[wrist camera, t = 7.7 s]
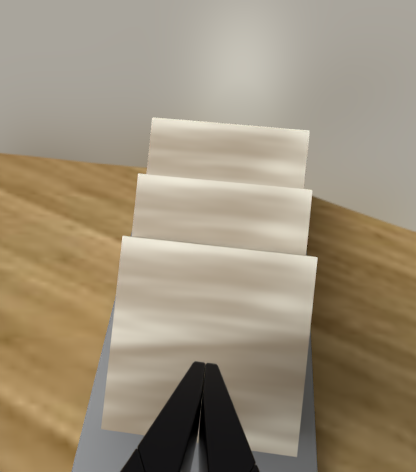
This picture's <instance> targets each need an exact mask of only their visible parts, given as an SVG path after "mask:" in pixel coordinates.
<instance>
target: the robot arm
mask: <svg viewBox="0 0 416 472" xmlns="http://www.w3.org/2000/svg"><path fill="white" fill-rule="evenodd" d="M204 374H205V375H204ZM202 393H203V394H202ZM201 403H202V404H201ZM200 413H201V414H200ZM199 423H200V424H199ZM198 431H199V441H198V460H199V472H260V471H259V468H258V466H257V465H256V461H255V459H254V456H253V453H252V451H251V448H250V446H249V443H248V441H247V438H246V436H245V433H244V430H243V428H242V425H241V423H240V420H239V418H238V415H237V412H236V410H235V407H234V405H233V402H232V400H231V397H230V395H229V392H228V389H227V387H226V384H225V382H224V379H223V377H222V374H221V372H220V369H219V366H218V365H217V364H215V363H206V365H205V363H204V362H199V361H194V362H193V363H192V365H191V366H190V368H189V369H188V371H187V372H186V374H185V375H184V377H183V378H182V380H181V381H180V383H179V384H178V386H177V387H176V389H175V390H174V392H173V393H172V395H171V396H170V398H169V399H168V401H167V402H166V404H165V405H164V407H163V408H162V410H161V411H160V413H159V414H158V416H157V417H156V419H155V420H154V422H153V423H152V425H151V426H150V428H149V429H148V431H147V432H146V434H145V435H144V437H143V438H142V440H141V441H140V443H139V444H138V446H137V448H136V449H135V450H134V452H133V453H132V455H131V456H130V458H129V459H128V461H127V462H126V464H125V465H124V466H123V468H122V469H121V471H120V472H190V471H191V467H192V462H193V457H194V452H195V448H196V443H197V437H198Z"/></svg>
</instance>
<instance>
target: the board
mask: <svg viewBox="0 0 416 472" xmlns="http://www.w3.org/2000/svg"><path fill="white" fill-rule="evenodd" d="M131 236H132V233H131ZM306 255H307V250H306ZM115 300H116V297H115ZM114 309H115V301H114V305H113V309H112V313H111V317H110V321H109V325H108V329H107V333H106V337H105V341H104V345H103V349H102V353H101V357H100V361H99V365H98V369H97V373H96V377H95V381H94V384H93V388H92V392H91V396H90V400H89V404H88V408H87V412H86V416H85V420H84V424H83V428H82V432H81V436H80V440H79V444H78V448H77V452H76V456H75V460H74V464H73V468H72V472H120V471H121V469H122V468H123V466H124V465H125V464H126V462H127V461H128V459H129V458H130V456H131V455H132V453H133V452H134V450H135V449H136V448H137V446H138V444H139V443H140V441H141V440H142V438H143V437H144V435H139V434H132V433H125V432H118V431H111V430H104V429H101V425H102V416H103V407H104V398H105V389H106V380H107V372H108V363H109V354H110V345H111V336H112V327H113V318H114ZM252 453H253V456H254V459H255V461H256V465H257V466H258V468H259V471H260V472H317V452H316V432H315V411H314V391H313V370H312V350H311V330H310V336H309V346H308V355H307V365H306V375H305V384H304V394H303V403H302V413H301V423H300V432H299V442H298V452H297V457H293V456H286V455H279V454H272V453H265V452H258V451H252ZM190 472H199V460H198V443H196V448H195V452H194V457H193V462H192V467H191V471H190Z"/></svg>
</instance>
